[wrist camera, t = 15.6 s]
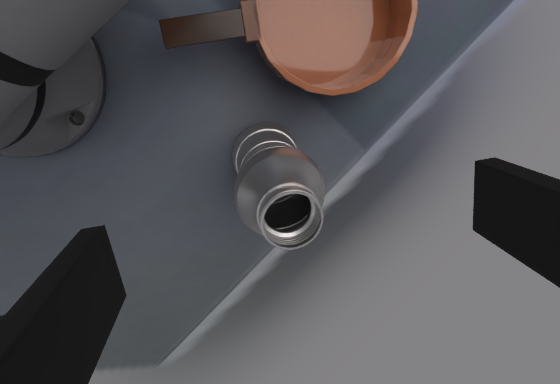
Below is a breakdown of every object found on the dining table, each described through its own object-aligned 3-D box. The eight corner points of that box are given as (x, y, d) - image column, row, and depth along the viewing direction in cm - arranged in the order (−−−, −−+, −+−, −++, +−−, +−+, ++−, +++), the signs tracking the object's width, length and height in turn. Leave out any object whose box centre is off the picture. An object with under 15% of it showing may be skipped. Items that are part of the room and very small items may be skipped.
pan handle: (170, 55, 35) (166, 54, 32) (161, 16, 34) (156, 12, 31) (260, 41, 35) (262, 39, 33) (254, 3, 34) (256, -2, 32)
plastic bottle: (306, 154, 41) (370, 226, 23) (256, 192, 42) (278, 292, 23) (270, 105, 39) (308, 140, 21) (218, 145, 40) (209, 215, 21)
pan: (262, 102, 39) (267, 106, 34) (236, -60, 35) (238, -80, 30) (397, 80, 40) (420, 81, 36) (390, -80, 36) (415, -103, 31)
